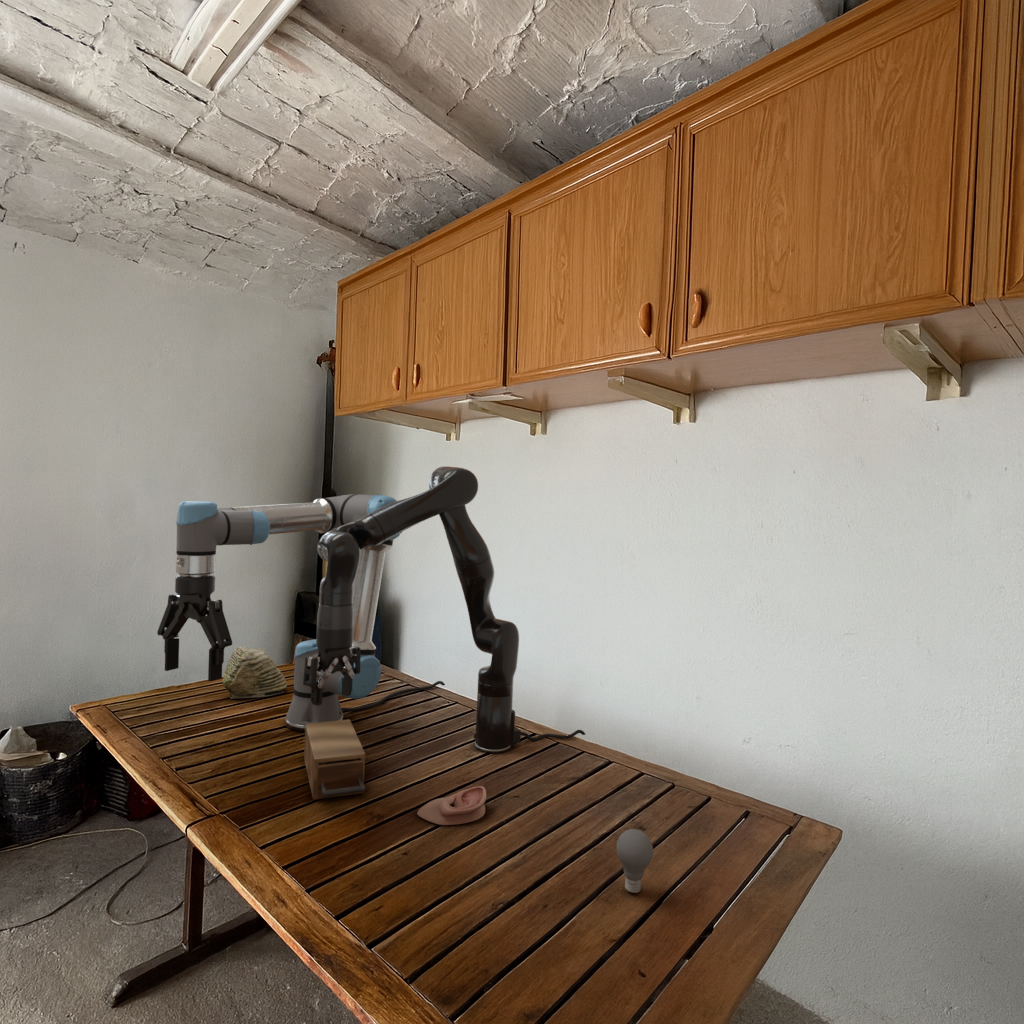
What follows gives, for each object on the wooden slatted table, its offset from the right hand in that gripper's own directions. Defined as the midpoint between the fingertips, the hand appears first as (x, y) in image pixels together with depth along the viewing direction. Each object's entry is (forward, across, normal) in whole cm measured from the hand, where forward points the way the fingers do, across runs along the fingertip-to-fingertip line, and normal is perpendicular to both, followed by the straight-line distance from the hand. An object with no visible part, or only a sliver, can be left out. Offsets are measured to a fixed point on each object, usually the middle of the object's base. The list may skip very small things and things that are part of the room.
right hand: (331, 699), depth 136 cm
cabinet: (+20, +6, +5) cm, 22 cm away
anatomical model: (+20, +8, -27) cm, 34 cm away
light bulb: (+20, +3, -67) cm, 70 cm away
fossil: (+20, +34, +66) cm, 77 cm away
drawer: (+19, +3, +1) cm, 19 cm away
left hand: (-4, -16, +25) cm, 30 cm away
